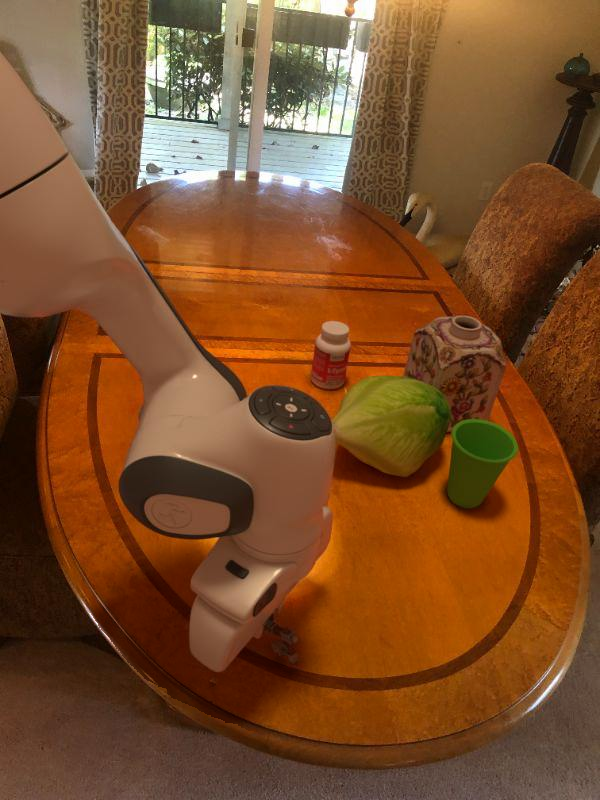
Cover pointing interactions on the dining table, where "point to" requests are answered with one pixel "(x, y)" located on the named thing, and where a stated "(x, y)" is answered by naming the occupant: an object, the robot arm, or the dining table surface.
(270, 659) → the dining table surface
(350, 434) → the lettuce
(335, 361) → the pill bottle
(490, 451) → the cup
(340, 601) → the dining table surface
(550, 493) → the dining table surface
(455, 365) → the decorative jar
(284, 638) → the brown buckled strap
